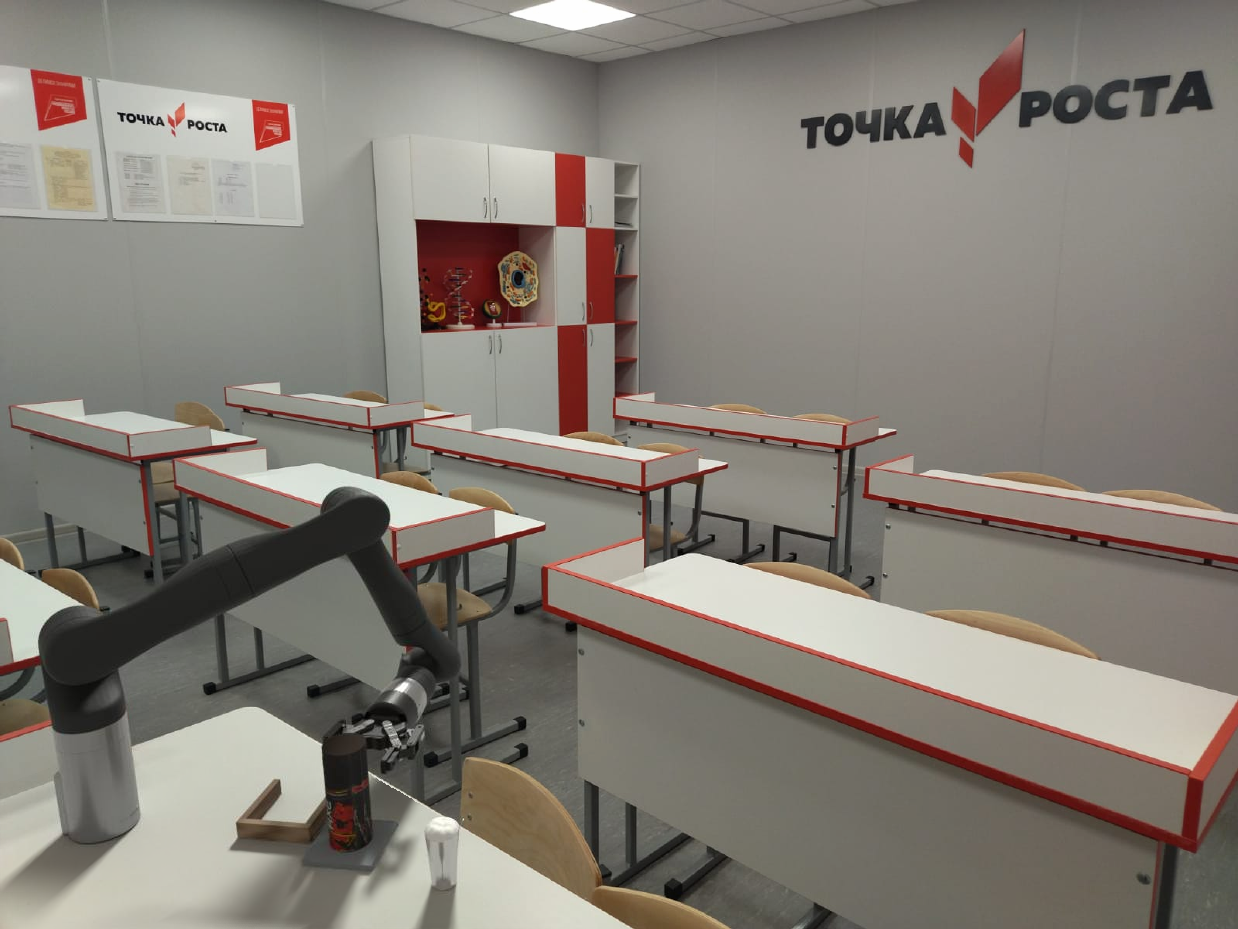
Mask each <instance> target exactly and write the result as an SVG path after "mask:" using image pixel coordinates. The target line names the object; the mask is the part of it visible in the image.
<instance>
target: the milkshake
mask: <svg viewBox="0 0 1238 929" xmlns="http://www.w3.org/2000/svg"><path fill="white" fill-rule="evenodd" d="M464 820H465V818H463V819H462V821H461V823H460V824H459V823H458V821H457V820H455V819H454V818H451V817H449V816H438V817H435V818H433V819H430V820H429V822H428V823H427V825H426V826H425V827H424V830H423V832H424V839H425V840H424V841H425V844H426V851H427V857H428V864H429V871H430V878H431V885H432V887H433V888H434V889H435V890H438V891H446V890H451V889H452V888H453V887H454V886H456V884H457V880H458V877H457V876H458V875H457V874H458V855H459V854H458V852H459V850H458V849H459V841H460V840H459V839H460V829H461V826H462V824H463V822H464Z"/></svg>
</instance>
